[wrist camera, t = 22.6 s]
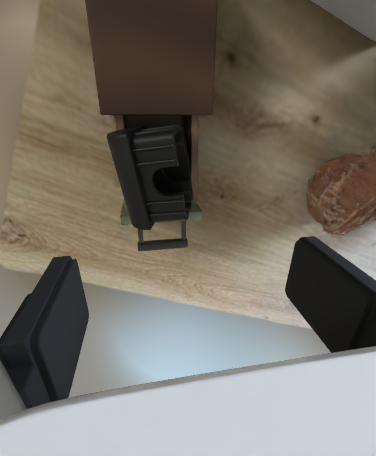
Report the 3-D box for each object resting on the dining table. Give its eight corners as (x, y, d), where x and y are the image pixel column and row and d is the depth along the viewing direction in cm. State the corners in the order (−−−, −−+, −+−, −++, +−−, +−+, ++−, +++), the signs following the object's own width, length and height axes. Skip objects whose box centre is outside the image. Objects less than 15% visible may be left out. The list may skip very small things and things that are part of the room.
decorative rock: (350, 133, 39) (411, 139, 30) (372, 183, 44) (431, 202, 35) (283, 188, 41) (322, 209, 32) (311, 230, 46) (352, 259, 37)
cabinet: (196, 114, 34) (212, 115, 26) (110, 113, 32) (100, 114, 25) (199, -40, 27) (222, -100, 20) (90, -52, 25) (68, -122, 18)
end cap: (122, 127, 28) (94, 137, 22) (182, 118, 27) (169, 127, 21) (142, 207, 33) (123, 232, 27) (194, 203, 31) (186, 229, 25)
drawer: (192, 230, 41) (200, 251, 35) (128, 235, 39) (125, 258, 33) (193, 98, 32) (205, 96, 26) (112, 97, 31) (105, 94, 25)
